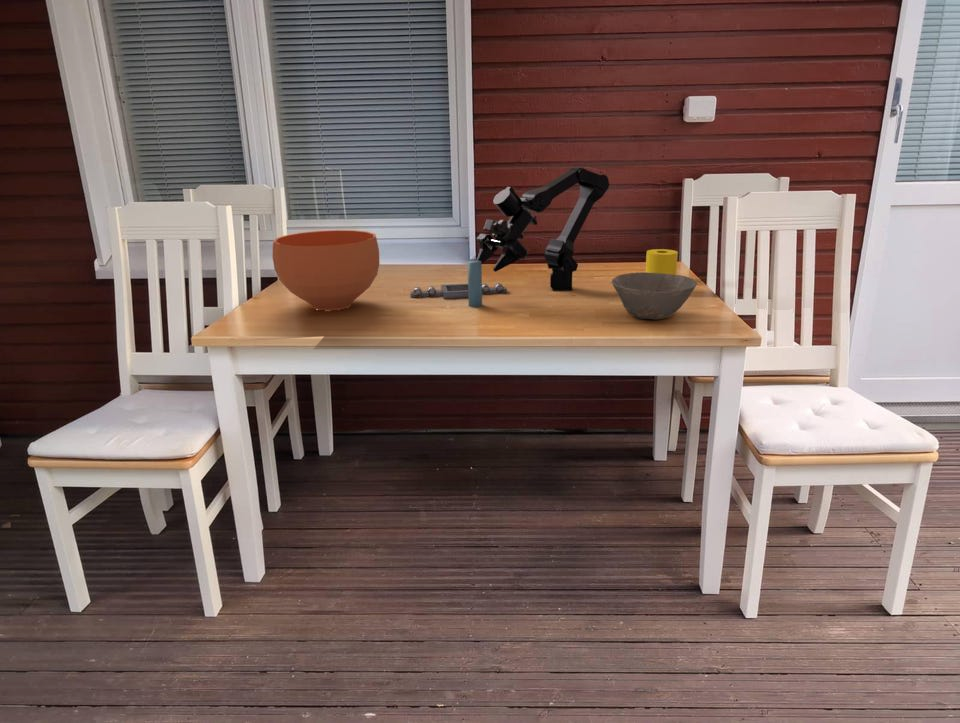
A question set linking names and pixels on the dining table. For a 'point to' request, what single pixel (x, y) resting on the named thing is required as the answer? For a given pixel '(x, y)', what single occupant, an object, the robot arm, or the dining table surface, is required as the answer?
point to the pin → (475, 283)
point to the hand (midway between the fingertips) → (485, 268)
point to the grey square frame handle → (455, 291)
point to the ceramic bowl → (653, 293)
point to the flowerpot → (327, 265)
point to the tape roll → (661, 261)
